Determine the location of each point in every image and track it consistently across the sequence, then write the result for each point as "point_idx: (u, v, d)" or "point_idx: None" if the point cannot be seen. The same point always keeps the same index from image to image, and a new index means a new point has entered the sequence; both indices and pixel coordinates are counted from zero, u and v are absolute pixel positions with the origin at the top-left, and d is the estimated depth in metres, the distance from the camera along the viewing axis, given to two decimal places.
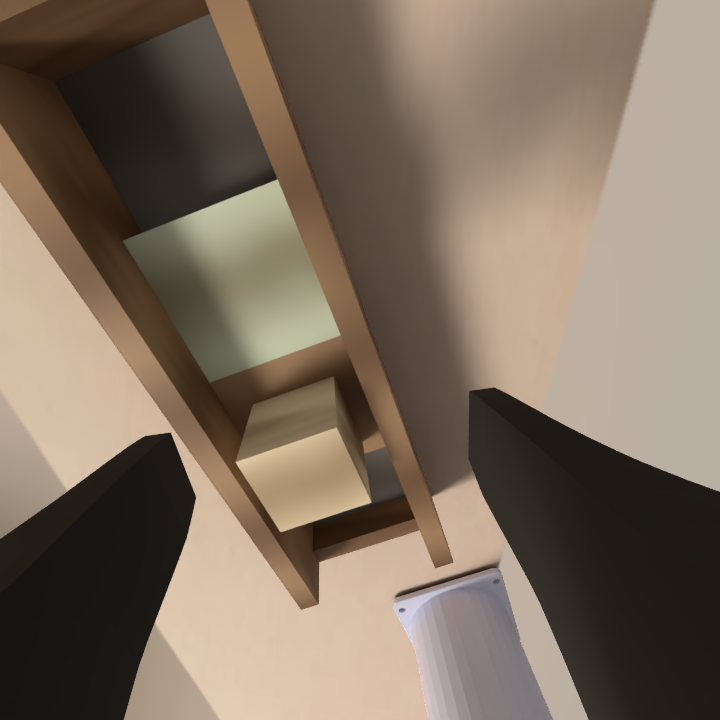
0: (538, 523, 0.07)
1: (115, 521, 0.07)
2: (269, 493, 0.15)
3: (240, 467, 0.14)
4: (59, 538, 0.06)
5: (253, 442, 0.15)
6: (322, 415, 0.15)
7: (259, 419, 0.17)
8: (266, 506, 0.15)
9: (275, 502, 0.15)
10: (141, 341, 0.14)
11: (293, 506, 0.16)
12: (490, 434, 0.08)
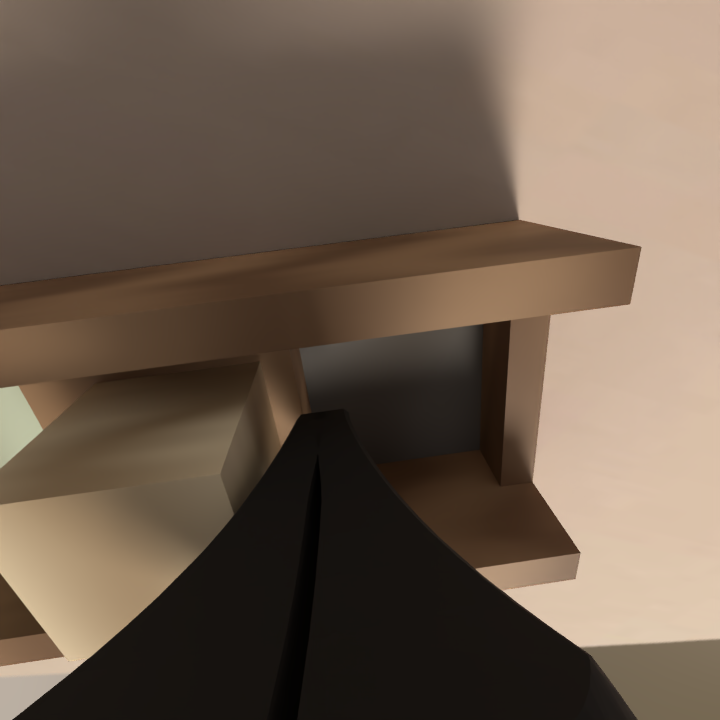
0: None
1: (320, 491, 0.07)
2: None
3: (82, 657, 0.08)
4: (308, 502, 0.06)
5: None
6: None
7: None
8: None
9: None
10: None
11: None
12: None
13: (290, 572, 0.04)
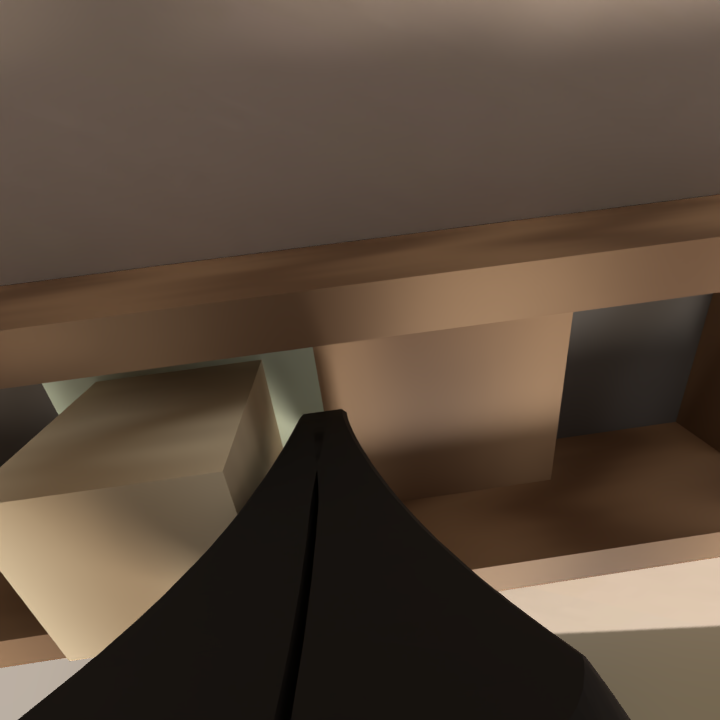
0: None
1: None
2: None
3: (83, 657, 0.07)
4: (311, 501, 0.06)
5: None
6: None
7: None
8: None
9: None
10: None
11: None
12: None
13: (295, 571, 0.04)
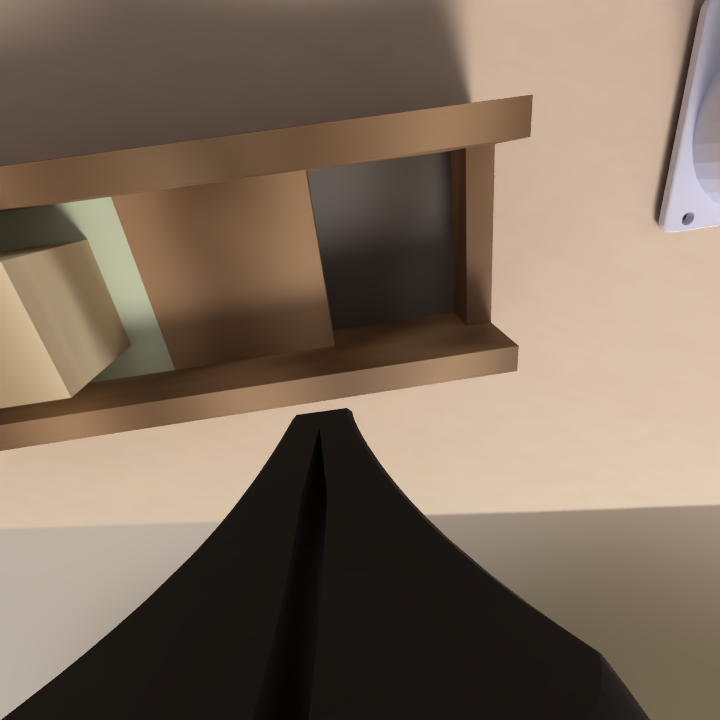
0: None
1: (314, 492, 0.07)
2: None
3: None
4: (301, 503, 0.06)
5: None
6: None
7: None
8: (16, 403, 0.11)
9: (7, 391, 0.11)
10: (55, 419, 0.13)
11: (15, 371, 0.11)
12: None
13: (281, 573, 0.04)
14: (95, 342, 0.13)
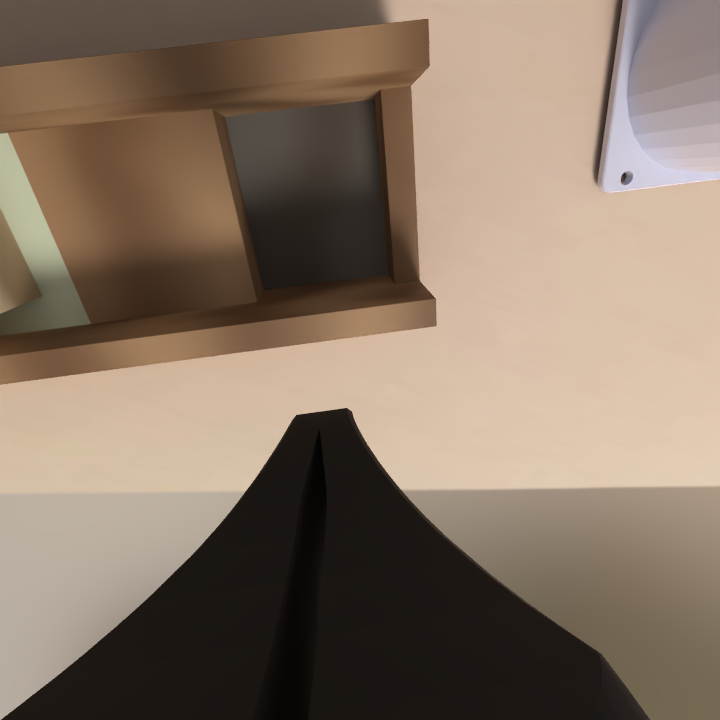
0: None
1: (314, 492, 0.07)
2: None
3: None
4: (301, 503, 0.06)
5: None
6: None
7: None
8: None
9: None
10: None
11: None
12: None
13: (281, 573, 0.04)
14: None
